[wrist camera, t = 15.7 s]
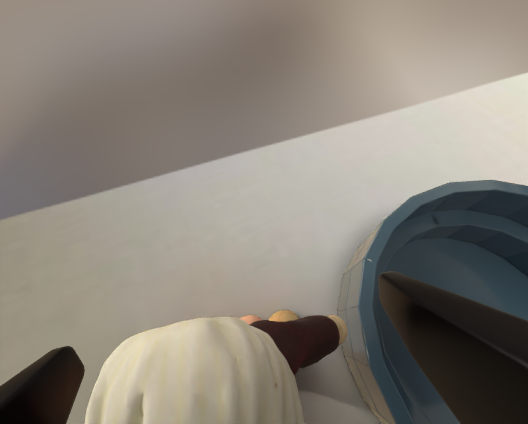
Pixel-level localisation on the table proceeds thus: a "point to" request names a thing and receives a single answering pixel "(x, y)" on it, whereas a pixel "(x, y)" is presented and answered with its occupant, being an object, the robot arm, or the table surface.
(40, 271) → the table surface
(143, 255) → the table surface
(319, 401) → the table surface
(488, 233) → the blue pet bowl
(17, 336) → the table surface
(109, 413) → the grandmother figurine
